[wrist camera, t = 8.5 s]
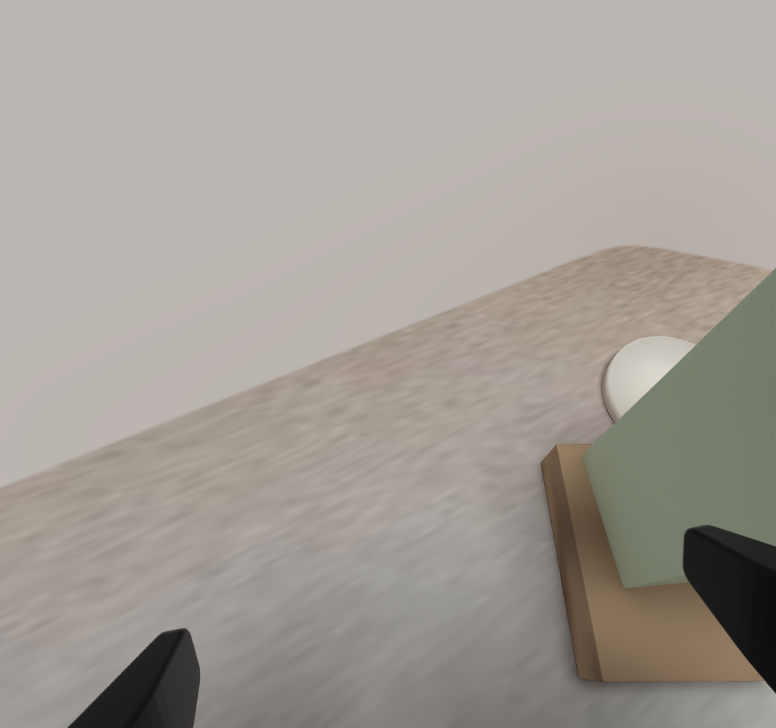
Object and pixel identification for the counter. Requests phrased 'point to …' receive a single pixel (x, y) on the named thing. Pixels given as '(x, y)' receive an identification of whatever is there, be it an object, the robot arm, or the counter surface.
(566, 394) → the counter surface
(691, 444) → the carton
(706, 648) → the podium
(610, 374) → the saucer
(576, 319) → the counter surface
